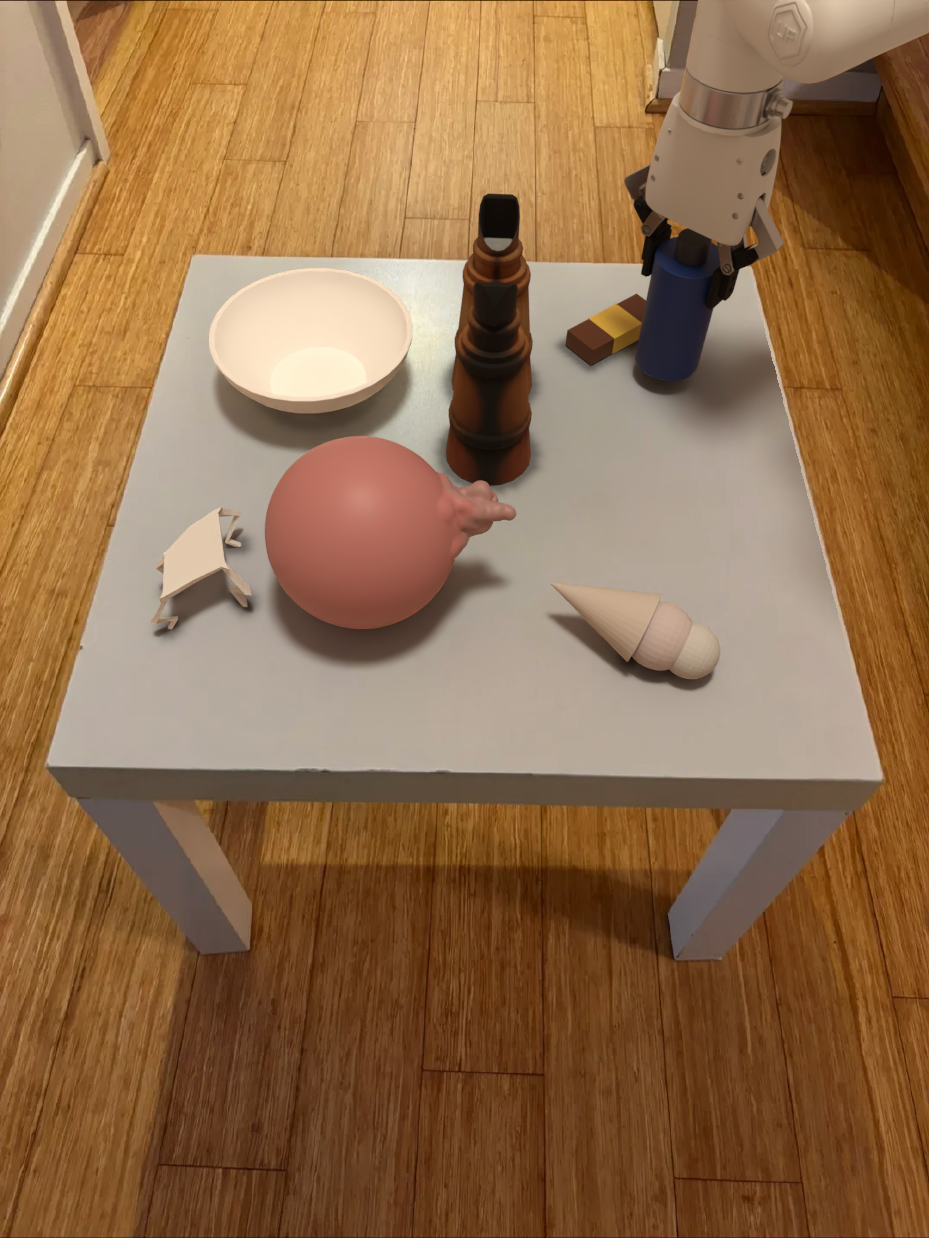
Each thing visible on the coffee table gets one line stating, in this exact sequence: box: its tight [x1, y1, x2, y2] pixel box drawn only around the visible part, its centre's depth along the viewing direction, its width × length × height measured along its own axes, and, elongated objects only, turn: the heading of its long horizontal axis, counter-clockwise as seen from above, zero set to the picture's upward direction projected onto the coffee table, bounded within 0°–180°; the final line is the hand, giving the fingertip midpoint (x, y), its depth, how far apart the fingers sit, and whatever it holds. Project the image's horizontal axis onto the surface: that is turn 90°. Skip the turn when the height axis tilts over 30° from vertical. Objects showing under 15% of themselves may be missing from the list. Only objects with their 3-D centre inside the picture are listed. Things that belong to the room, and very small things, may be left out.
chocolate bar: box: [565, 293, 646, 366], centre depth 104 cm, size 10×4×2 cm, turn 128°
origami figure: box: [150, 506, 252, 630], centre depth 83 cm, size 12×8×5 cm
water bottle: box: [634, 227, 720, 382], centre depth 94 cm, size 6×6×14 cm
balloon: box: [264, 435, 517, 630], centre depth 79 cm, size 15×20×15 cm
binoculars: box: [445, 193, 534, 486], centre depth 89 cm, size 18×8×20 cm, turn 177°
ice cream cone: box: [549, 582, 721, 680], centre depth 80 cm, size 6×6×15 cm
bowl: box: [208, 267, 414, 414], centre depth 97 cm, size 20×20×7 cm
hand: (684, 284), depth 92 cm, fingers closed on water bottle, 6 cm apart
